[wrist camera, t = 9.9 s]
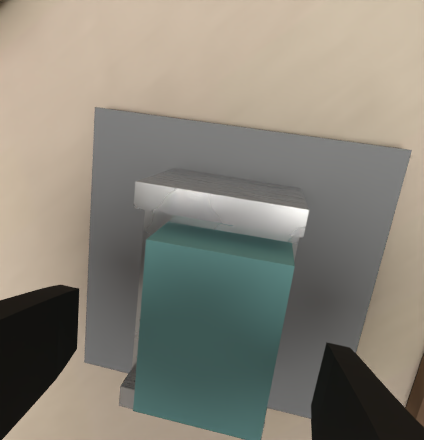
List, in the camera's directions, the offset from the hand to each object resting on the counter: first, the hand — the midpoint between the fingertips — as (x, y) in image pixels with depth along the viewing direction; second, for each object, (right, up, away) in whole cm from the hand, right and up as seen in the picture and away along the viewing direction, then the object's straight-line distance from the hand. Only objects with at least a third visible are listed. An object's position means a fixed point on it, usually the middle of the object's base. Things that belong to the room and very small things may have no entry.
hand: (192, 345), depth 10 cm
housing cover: (+1, 0, +2) cm, 2 cm away
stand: (+1, +2, +6) cm, 6 cm away
